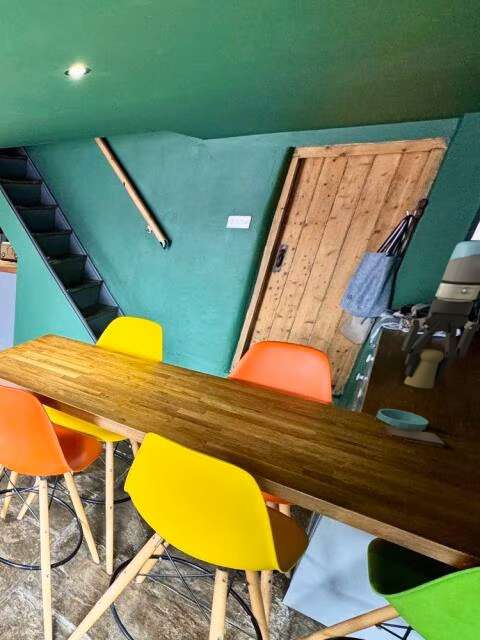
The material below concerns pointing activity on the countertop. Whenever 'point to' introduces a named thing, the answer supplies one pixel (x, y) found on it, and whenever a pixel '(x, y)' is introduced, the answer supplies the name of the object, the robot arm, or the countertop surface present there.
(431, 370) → the cork
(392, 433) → the board
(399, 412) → the bowl
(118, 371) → the countertop surface
